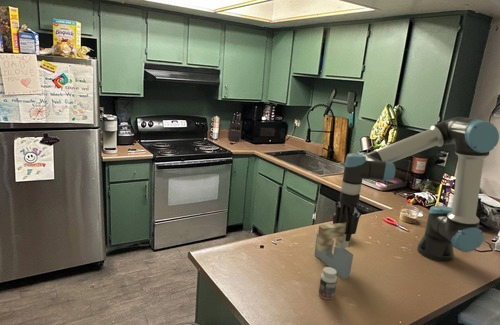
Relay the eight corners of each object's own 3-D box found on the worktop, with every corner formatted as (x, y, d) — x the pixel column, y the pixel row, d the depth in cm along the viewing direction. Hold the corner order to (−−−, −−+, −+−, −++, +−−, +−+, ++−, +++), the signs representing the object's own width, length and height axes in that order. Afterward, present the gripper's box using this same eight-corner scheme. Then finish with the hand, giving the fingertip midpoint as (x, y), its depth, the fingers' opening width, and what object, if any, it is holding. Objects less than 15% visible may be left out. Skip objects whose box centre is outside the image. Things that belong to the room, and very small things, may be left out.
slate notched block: (349, 277, 137) (353, 254, 135) (343, 278, 136) (347, 255, 134) (319, 253, 155) (322, 232, 153) (314, 254, 154) (317, 233, 151)
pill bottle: (316, 290, 127) (319, 265, 125) (331, 290, 128) (335, 266, 126) (320, 299, 122) (324, 274, 119) (336, 300, 122) (340, 275, 120)
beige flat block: (345, 243, 148) (348, 222, 146) (349, 247, 146) (353, 224, 143) (316, 248, 142) (319, 225, 140) (320, 251, 139) (323, 228, 137)
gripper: (371, 198, 134) (362, 253, 140) (344, 185, 149) (337, 235, 154) (356, 199, 131) (347, 255, 137) (330, 186, 145) (323, 237, 151)
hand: (342, 245), depth 145 cm, fingers closed on beige flat block, 3 cm apart
